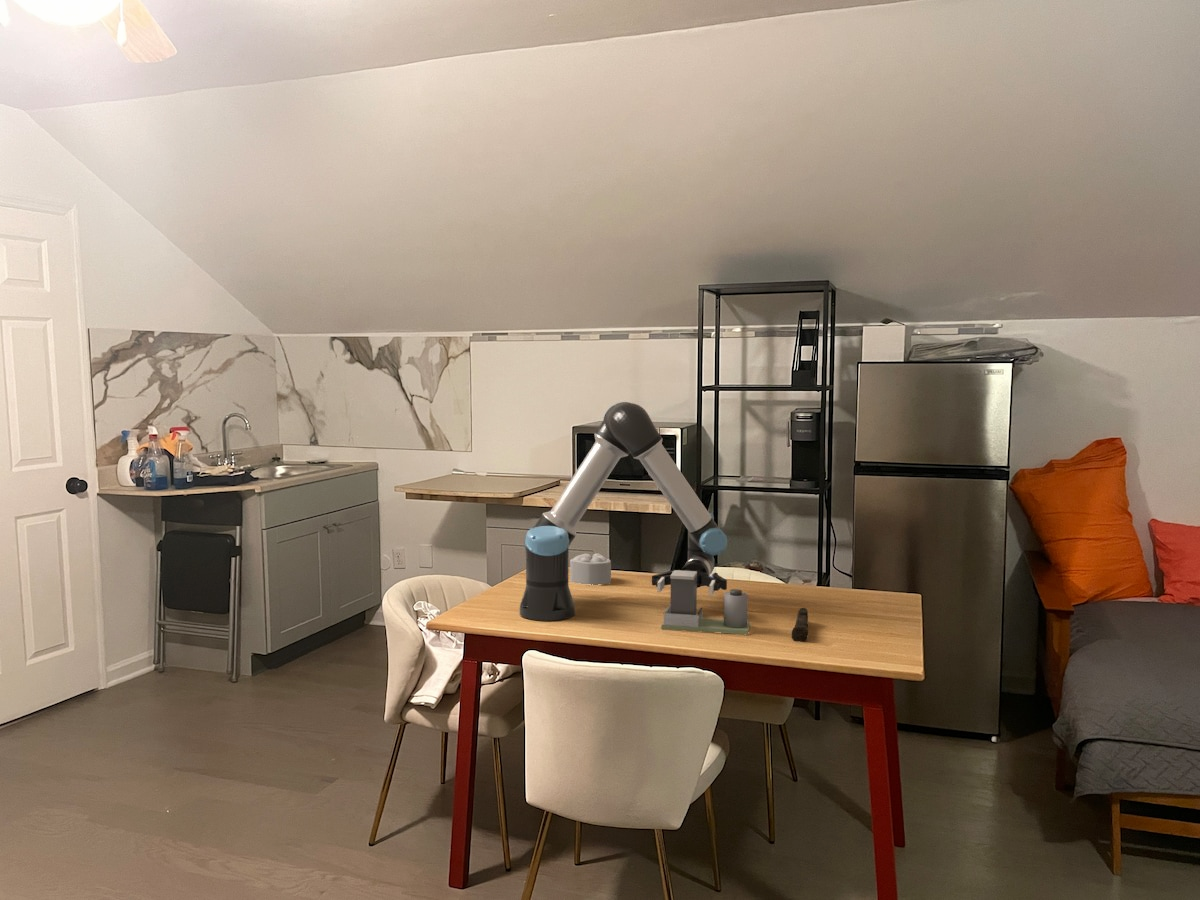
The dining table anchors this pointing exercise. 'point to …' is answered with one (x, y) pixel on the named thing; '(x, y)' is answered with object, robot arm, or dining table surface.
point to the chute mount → (683, 618)
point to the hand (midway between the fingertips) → (684, 589)
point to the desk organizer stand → (725, 616)
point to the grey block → (683, 592)
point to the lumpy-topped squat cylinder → (590, 569)
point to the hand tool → (801, 626)
